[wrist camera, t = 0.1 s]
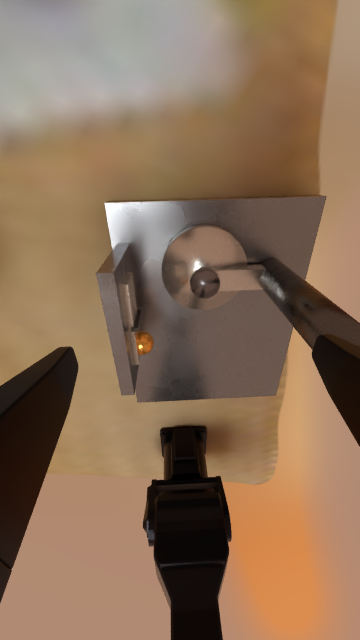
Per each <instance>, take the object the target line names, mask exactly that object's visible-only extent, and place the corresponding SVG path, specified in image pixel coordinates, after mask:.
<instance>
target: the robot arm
mask: <svg viewBox="0 0 360 640" xmlns="http://www.w3.org/2000/svg"><path fill="white" fill-rule="evenodd" d="M312 358H313V360H314V363H315V365H316V367H317V369H318V371H319V374H320V376H321V378H322V380H323V382H324V385H325V387H326V389H327V391H328V393H329V395H330V397H331V399H332V400H333V402H334V404H335V405H336V407H337V409H338V411H339V412H340V414H341V416H342V417H343V419H344V421H345V422H346V424H347V426H348V427H349V429H350V431H351V433H352V434H353V436H354V438H355V440H356V441H357V443H358V445H359V446H360V346H358V345H355V344H353V343H351V342H348V341H346V340H344V339H341V338H339V337H337V336H334V335H332V334H320V335H318V336H317V338H316V341H315V344H314V347H313V350H312ZM77 373H78V362H77V359H76V356H75V353H74V350H73V348H72V347H59V348H57V349H56V350H54V351H53V352H51V353H50V354H48V355H47V356H45V357H44V358H42V359H41V360H39V361H38V362H36V363H35V364H33V365H32V366H30V367H29V368H27V369H26V370H24V371H23V372H21V373H20V374H18V375H16V376H15V377H13V378H12V379H10V380H9V381H7V382H6V383H4V384H3V385H1V386H0V602H1V600H2V597H3V594H4V591H5V588H6V585H7V583H8V580H9V577H10V574H11V571H12V570H11V569H12V567H13V565H14V562H15V560H16V557H17V554H18V551H19V548H20V546H21V543H22V540H23V537H24V534H25V531H26V529H27V526H28V523H29V520H30V518H31V515H32V512H33V509H34V506H35V504H36V500H37V498H38V495H39V492H40V489H41V487H42V484H43V481H44V478H45V475H46V473H47V470H48V467H49V464H50V461H51V459H52V456H53V453H54V450H55V447H56V445H57V442H58V439H59V436H60V433H61V430H62V428H63V425H64V422H65V419H66V416H67V414H68V410H69V407H70V403H71V399H72V395H73V390H74V386H75V382H76V377H77ZM206 434H207V430H206V427H187V428H169V429H161V430H160V437H161V446H162V456H163V457H164V480H156V479H154V480H152V485H151V486H149V487H148V488H147V502H146V509H145V515H144V520H143V528H144V530H145V531H146V533H147V538H148V542H149V546H154V561H155V567H156V573H157V577H158V580H159V582H160V585H161V587H162V589H163V592H164V594H165V597H166V599H167V602H168V604H169V606H170V609H171V640H223V638H222V630H221V623H220V613H219V605H218V598H219V594H220V591H221V587H222V583H223V579H224V576H225V571H226V566H227V561H228V556H229V546H228V542H231V523H230V516H229V510H228V505H227V502H226V497H225V493H224V489H223V485H222V481H221V477H220V476H216V477H208V475H207V467H206V459H205V454H206Z"/></svg>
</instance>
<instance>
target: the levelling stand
mask: <svg viewBox="0 0 360 640" xmlns="http://www.w3.org/2000/svg"><path fill="white" fill-rule="evenodd" d="M325 200H326V196H320V195H308V196H276V197H243V198H210V199H177V200H144V201H111V202H106V203H105V208H106V214H107V220H108V226H109V232H110V238H111V244H112V252H111V253H110V255H109V256H108V257H107V259H106V260H105V262H104V263H103V264H102V266H101V267H100V269H99V270H98V271H97V273H96V276H97V280H98V285H99V290H100V295H101V300H102V304H103V309H104V314H105V319H106V323H107V328H108V333H109V338H110V342H111V347H112V352H113V357H114V361H115V366H116V371H117V376H118V380H119V385H120V390H121V395H134V394H135V389H136V396H137V402H157V401H177V400H197V399H217V398H236V397H256V396H276V393H277V389H278V385H279V381H280V377H281V373H282V369H283V365H284V361H285V357H286V353H287V349H288V346H289V342H290V338H291V334H292V330H293V325H292V324H291V323H290V322H289V321H288V319H287V318H286V317H285V316H284V315H283V313H282V312H281V311H280V310H279V308H278V307H277V306H276V305H275V304H274V302H273V301H272V300H271V299H270V297H269V296H268V295H267V294H266V293H265V291H264V290H239V291H238V292H237V294H236V295H235V296H234V297H233V298H232V299H230V300H229V301H228V302H226V303H225V304H223V305H221V306H219V307H216V308H212V309H207V310H196V309H191V308H187V307H185V306H183V305H181V304H179V303H178V302H176V301H175V300H174V299H173V298H172V297H171V296H170V295H169V293H168V292H167V290H166V288H165V286H164V283H163V280H162V260H163V256H164V252H165V250H166V248H167V246H168V245H169V243H170V242H171V241H172V239H173V238H174V237H175V236H176V235H177V234H179V233H180V232H181V231H183V230H185V229H187V228H189V227H192V226H196V225H203V224H205V225H214V226H218V227H221V228H222V229H224V230H226V231H228V232H229V233H230V234H231V235H232V236H233V237H234V238H235V239H237V240H238V242H239V243H240V244H241V246H242V248H243V250H244V252H245V255H246V259H247V265H261V264H262V263H263V262H265V261H267V260H270V259H276V260H279V261H280V262H282V263H283V264H284V265H286V266H287V267H288V268H290V269H291V270H292V271H293V272H295V273H296V274H297V275H299V276H300V277H301V278H302V279H304V280H305V279H306V275H307V271H308V267H309V263H310V259H311V255H312V251H313V247H314V243H315V239H316V236H317V232H318V227H319V224H320V220H321V216H322V212H323V208H324V204H325Z"/></svg>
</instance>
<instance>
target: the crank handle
mask: <svg viewBox="0 0 360 640" xmlns="http://www.w3.org/2000/svg"><path fill="white" fill-rule="evenodd" d="M162 280H163V283H164V286H165V288H166V290H167V292H168V293H169V295H170V296H171V297H172V298H173V299H174V300H175V301H176V302H178V303H179V304H181V305H183V306H185V307H187V308H191V309H196V310H207V309H212V308H216V307H219V306H221V305H223V304H225V303H226V302H228V301H229V300H230V299H232V298H233V297H234V296H235V295H236V294H237V292H238V291H239V290H264V291H265V293H266V294H267V295H268V296H269V297H270V299H271V300H272V301H273V302H274V304H275V305H276V306H277V307H278V308H279V310H280V311H281V312H282V313H283V315H284V316H285V317H286V318H287V319H288V321H289V322H290V323H291V324H292V325H293V327H294V328H295V329H296V330H297V331H298V333H299V334H300V335H301V336H302V338H303V339H304V340H305V341H306V343H307V344H308V345H309V346H310V347H311V349H312V350H313V347H314V344H315V341H316V338H317V336H318V335H320V334H332V335H334V336H337V337H339V338H341V339H344V340H346V341H348V342H351V343H353V344H355V345H358V346H360V323H359V322H357V321H356V320H355V319H354V318H352V317H351V316H350V315H348V314H347V313H346V312H345V311H343V310H342V309H341V308H340V307H338V306H337V305H336V304H334V303H333V302H332V301H330V300H329V299H328V298H327V297H325V296H324V295H323V294H322V293H320V292H319V291H318V290H316V289H315V288H314V287H313V286H311V285H310V284H308V283H307V282H306V281H305V280H304V279H302V278H301V277H300V276H299V275H297V274H296V273H295V272H293V271H292V270H291V269H290V268H288V267H287V266H286V265H284V264H283V263H282V262H280V261H279V260H276V259H270V260H267V261H265V262H263V263H262V264H261V265H247V259H246V255H245V252H244V250H243V248H242V246H241V244H240V243H239V242H238V240H237V239H235V238H234V237H233V236H232V235H231V234H230V233H229V232H228V231H226V230H224V229H222V228H221V227H218V226H214V225H205V224H203V225H196V226H192V227H189V228H187V229H185V230H183V231H181V232H180V233H179V234H177V235H176V236H175V237H174V238H173V239H172V241H171V242H170V243H169V245H168V246H167V248H166V250H165V252H164V256H163V260H162Z"/></svg>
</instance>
